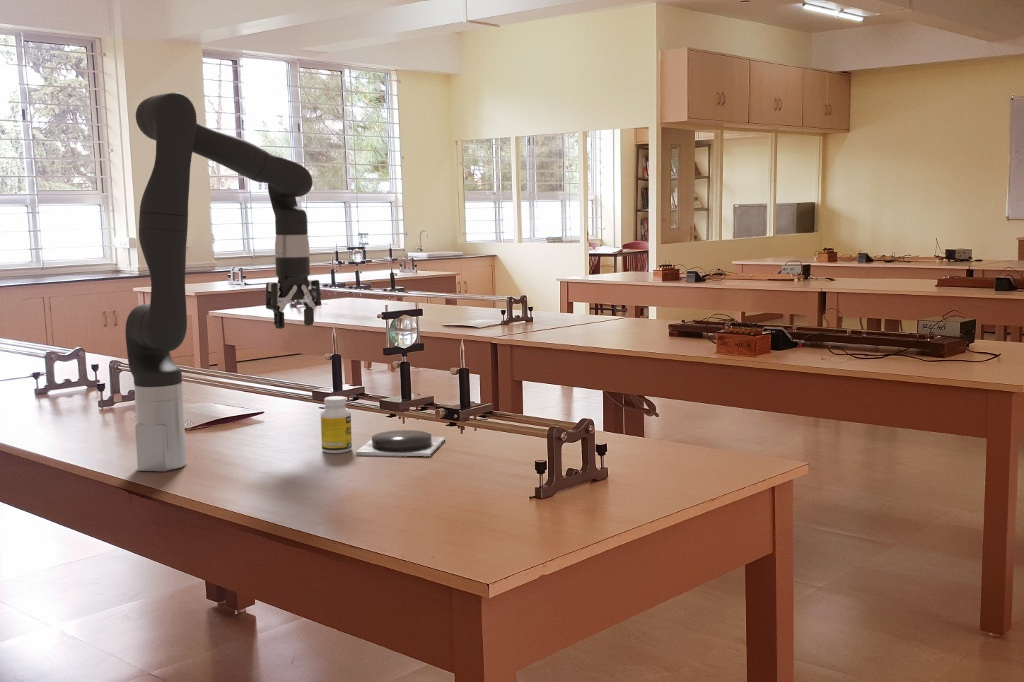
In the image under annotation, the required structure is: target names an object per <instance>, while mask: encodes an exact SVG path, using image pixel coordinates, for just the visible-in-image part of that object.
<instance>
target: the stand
mask: <svg viewBox="0 0 1024 682" xmlns="http://www.w3.org/2000/svg"><path fill="white" fill-rule="evenodd" d="M444 440H445V441H446V437H445V436H432V433H429V432H427V431H421V430H415V429H413V430H412V429H399V430H397V429H396V430H390V431H389V430H387V431H383V432H379V433H375V434H374V435H373V436H371V439H370V440H369V441H367V442H366V443H365V444H363V445H362V446H361V447H360V448H358V449H357V450H355V456H363V457H365V456H367V457H371V456H373V457H402V456H404V458H405V457H406V456H429V457H428V458H430V457H432V455H433V454H434V453H435V452H436V451H437V450H438V449H439V448H440V446H442V444H443V443H444V442H445V441H444ZM443 441H444V442H443ZM442 442H443V443H442ZM441 443H442V444H441ZM438 447H439V448H438ZM437 448H438V449H437ZM436 449H437V450H436ZM435 450H436V451H435ZM434 451H435V452H434ZM433 452H434V453H433ZM432 453H433V454H432ZM431 454H432V455H431ZM406 458H407V457H406Z"/></svg>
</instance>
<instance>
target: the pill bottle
mask: <svg viewBox="0 0 1024 682" xmlns="http://www.w3.org/2000/svg"><path fill="white" fill-rule="evenodd" d="M323 405H324V406H325V408H324V409H322V411H321V412H320V431H321V432H320V433H321V451H323V452H324V453H327V454H340V453H341V454H342V453H346V452H347V453H348V452H349V451H351V450H352V448H353V445H352V444H353V443H352V442H353V440H352V438H353V437H352V415H351V414H352V413H351V411H350V409H349V408H347V407H346V405H347V397H346V396H341V395H340V396H339V395H335V396H334V395H333V396H327V397H325V398H324V400H323Z"/></svg>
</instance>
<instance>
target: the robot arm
mask: <svg viewBox="0 0 1024 682" xmlns="http://www.w3.org/2000/svg"><path fill="white" fill-rule="evenodd" d="M135 121H136V124H137V127H138V128H139V130H140V131H141V132H142V134H144V136H146V138H149V139H150V140H153V141H155V157H154V164H153V168H152V171H151V174H150V177H149V178H148V181H147V184H146V186H145V189H144V192H143V194H142V196H141V200H140V206H139V214H138V217H139V218H138V241H139V244H140V249H141V252H142V254H143V258H144V261H145V263H146V265H147V268H148V272H149V277H150V284H151V285H150V300H149V301H150V302H149V303H145V304H140V305H137V306H136V307H134V308H133V309H131V311H130V312H129V313H128V316H127V318H126V321H125V333H124V334H125V344H126V354H127V362H128V368H129V370H130V374H131V375H132V377H133V388H134V404H135V405H134V406H135V422H136V423H135V425H134V426H135V427H134V428H135V444H136V446H135V448H136V459H137V460H136V462H137V471H139V472H141V471H142V472H167V471H168V472H169V471H170V470H176V469H179V468H182V467H184V466H186V465H187V452H186V451H187V449H186V431H185V430H186V429H185V413H184V410H185V409H184V394H183V393H184V392H183V391H184V390H183V374H182V370H181V368H180V367H179V366H178V365H177V364H176V363H175V362H174V361H173V359H172V357H171V354H170V352H172V351H175V350H177V349H178V348H180V346H181V345H182V344H183V342H184V340H185V337H186V336H187V330H188V312H187V297H186V266H187V265H186V262H187V258H186V257H187V243H188V242H187V241H188V230H189V229H188V228H189V227H188V226H189V200H190V199H189V196H190V180H191V179H190V178H191V163H192V157H193V154H196V155H199V156H201V157H203V158H205V159H208V160H210V161H212V162H215V163H217V164H218V165H221V166H223V167H226V168H227V169H229V170H231V171H233V172H235V173H237V174H239V175H241V176H242V177H245V178H247V179H249V180H251V181H254V182H257V183H261V184H263V183H265V184H267V192H268V195H269V200H270V203H271V207H272V211H273V214H274V217H275V218H274V219H275V220H274V221H275V226H274V227H275V228H274V229H275V241H274V257H275V258H274V260H275V275H276V276H277V282H272V281H271V282H269V281H268V282H266V284H265V308H266V309H267V310H270V311H272V312H273V325H274V326H275V329H280V330H281V329H285V325H286V324H285V312H284V310H285V309H286V306H287V305H288V304H290V301H291V302H292V301H296V300H297V301H298V302H300V304H302V306H303V307H304V309H303V323H304V326H313V325H314V321H315V315H314V314H315V311H314V310H315V308H316V307H319V306H321V304H322V298H321V287H320V286H321V285H320V280H319V279H309V278H308V277H309V276H310V275H311V267H310V266H311V263H310V261H311V260H310V242H309V236H308V216H307V212H306V211H305V210H304V209H303V208H300V207H299V206H298V202H297V198H298V197H303V196H305V195H308V193H309V192H310V191H311V190H312V187H313V177H312V175H311V173H310V171H309V170H308V169H307V168H306V167H304V166H303V165H301V164H300V163H298V162H295V161H292V160H290V159H287V158H285V157H282V156H280V155H279V156H278V155H275V154H272V153H270V152H268V151H267V150H266V149H264V148H261V147H259V146H257V145H256V144H254V143H252V142H250V141H248V140H245V139H243V138H240V137H237V136H235V135H232V134H228V133H226V132H222V131H220V130H215V129H213V128H210V127H208V126H205V125H203V124H201V123H200V122H198V121H197V113H196V108H195V106H194V103H193V102H192V101H191V100H190V99H189V97H187V96H186V94H183V93H180V92H174V91H173V92H172V91H171V92H166V93H161V94H156V95H152V96H149V97H147V98H145V99H143V100H142V101H141V102H140V103H139V104H138V105H137V108H136V111H135Z"/></svg>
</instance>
